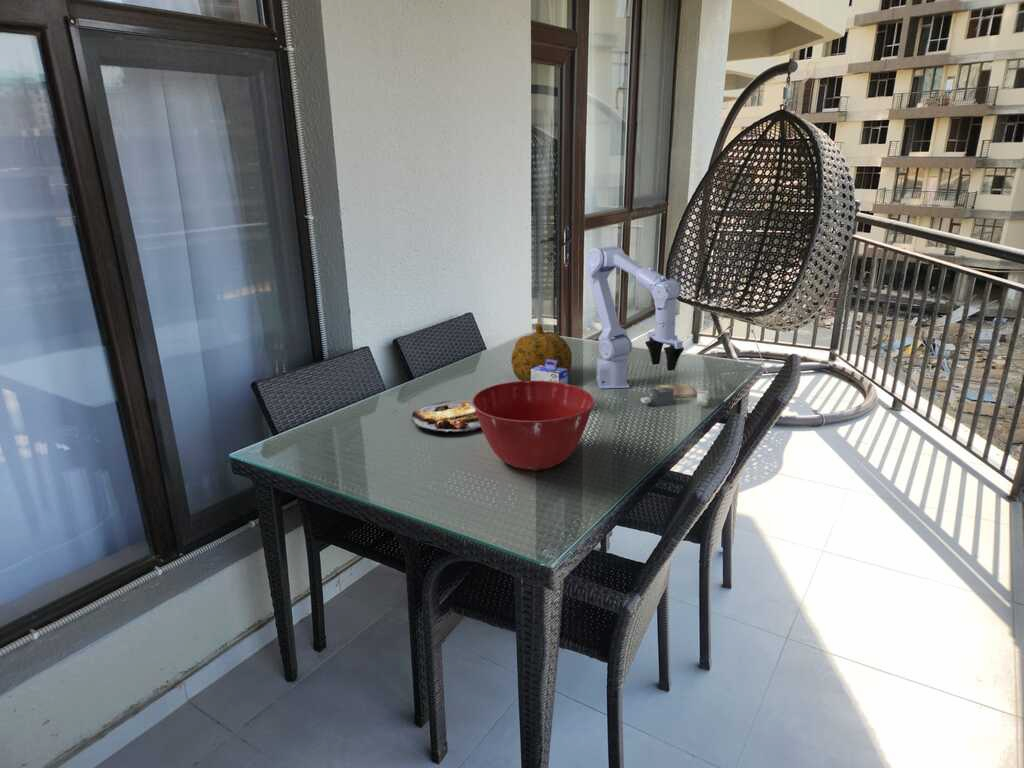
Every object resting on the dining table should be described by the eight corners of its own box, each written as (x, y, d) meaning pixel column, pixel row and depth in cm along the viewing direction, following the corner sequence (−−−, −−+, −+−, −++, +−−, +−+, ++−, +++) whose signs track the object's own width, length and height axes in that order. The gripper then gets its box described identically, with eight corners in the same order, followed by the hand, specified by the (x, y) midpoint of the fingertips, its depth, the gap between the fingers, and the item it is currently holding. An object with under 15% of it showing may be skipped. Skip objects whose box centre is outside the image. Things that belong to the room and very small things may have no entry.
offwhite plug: (696, 398, 193) (696, 387, 192) (706, 399, 192) (707, 387, 191) (697, 408, 185) (698, 396, 183) (708, 409, 184) (709, 397, 183)
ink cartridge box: (569, 408, 187) (569, 361, 183) (559, 414, 183) (558, 365, 179) (540, 403, 193) (540, 356, 188) (530, 408, 189) (529, 360, 184)
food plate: (432, 443, 165) (431, 430, 164) (399, 418, 184) (398, 406, 183) (515, 425, 177) (515, 413, 176) (476, 403, 196) (476, 392, 195)
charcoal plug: (669, 399, 193) (669, 386, 191) (675, 402, 190) (676, 389, 189) (639, 404, 189) (639, 391, 188) (645, 408, 186) (646, 394, 185)
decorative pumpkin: (587, 375, 215) (582, 317, 208) (546, 396, 201) (540, 335, 195) (542, 367, 229) (536, 313, 222) (501, 386, 215) (493, 329, 208)
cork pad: (663, 398, 194) (664, 395, 193) (655, 388, 203) (655, 385, 203) (696, 397, 194) (696, 394, 194) (686, 387, 203) (687, 384, 203)
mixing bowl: (613, 450, 158) (615, 390, 153) (554, 496, 136) (554, 428, 131) (518, 428, 173) (516, 374, 169) (450, 467, 151) (447, 405, 146)
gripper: (692, 325, 182) (689, 371, 186) (661, 316, 195) (660, 359, 199) (671, 327, 179) (669, 374, 183) (642, 318, 192) (640, 362, 196)
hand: (663, 367), depth 191 cm, fingers open, 7 cm apart
